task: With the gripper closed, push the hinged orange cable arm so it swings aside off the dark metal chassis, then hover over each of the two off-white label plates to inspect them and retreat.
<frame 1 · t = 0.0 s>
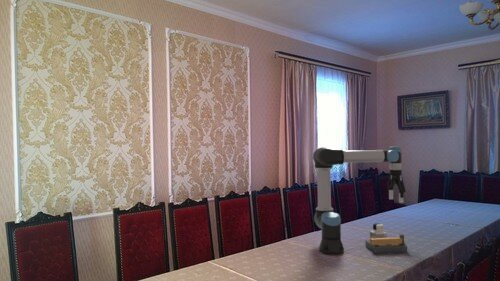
hand: (396, 201, 232), 28 cm above the table, fingers open, 13 cm apart
container: (378, 243, 230), on the table
chassis: (385, 249, 217), on the table
cable arm: (387, 239, 214), point 7 cm above the table, hinge at 0.0°
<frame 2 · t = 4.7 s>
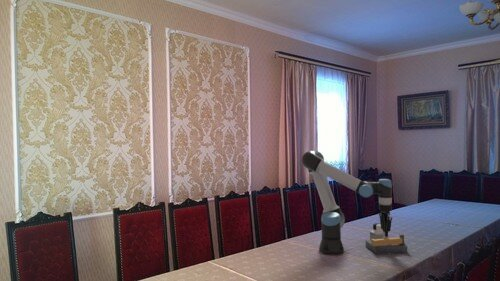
hand: (385, 241, 215), 6 cm above the table, fingers closed
cable arm: (388, 240, 213), point 7 cm above the table, hinge at 6.5°, touching gripper
everything else where it was.
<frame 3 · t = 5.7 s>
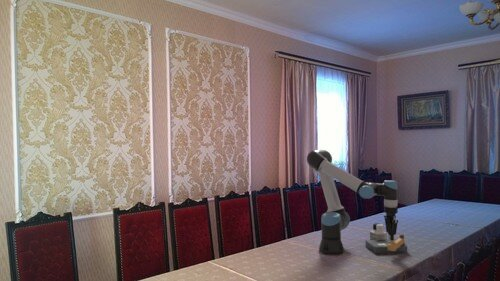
hand: (391, 245, 208), 5 cm above the table, fingers closed
cable arm: (397, 242, 208), point 7 cm above the table, hinge at 45.3°, touching gripper
everything else where it was.
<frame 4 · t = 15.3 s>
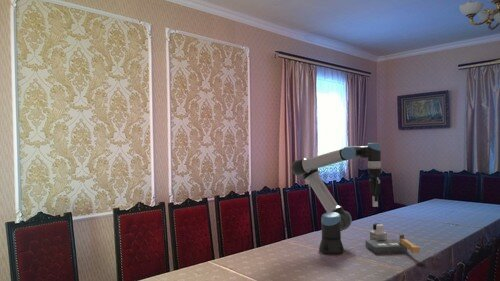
hand: (375, 206, 211), 28 cm above the table, fingers closed
cable arm: (408, 243, 206), point 7 cm above the table, hinge at 84.0°
everything else where it was.
at the end: cable arm at +84° (first picture: +0°); the gripper is holding nothing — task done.
